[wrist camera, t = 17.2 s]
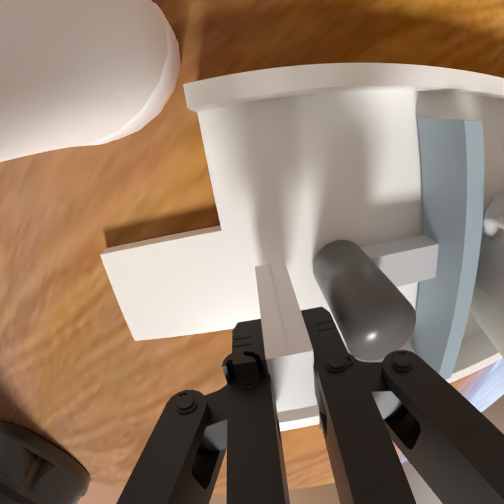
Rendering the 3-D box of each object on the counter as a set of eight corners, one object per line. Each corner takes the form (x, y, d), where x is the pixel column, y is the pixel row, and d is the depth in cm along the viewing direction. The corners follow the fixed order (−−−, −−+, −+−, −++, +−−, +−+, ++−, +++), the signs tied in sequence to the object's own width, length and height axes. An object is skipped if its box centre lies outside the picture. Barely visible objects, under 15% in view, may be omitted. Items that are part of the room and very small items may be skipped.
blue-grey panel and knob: (320, 370, 19) (342, 441, 14) (294, 127, 14) (331, 125, 8) (425, 341, 19) (464, 398, 14) (434, 118, 13) (512, 124, 8)
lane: (171, 400, 22) (160, 463, 16) (76, 132, 14) (9, 140, 9) (521, 311, 21) (556, 345, 15) (539, 96, 13) (593, 102, 8)
